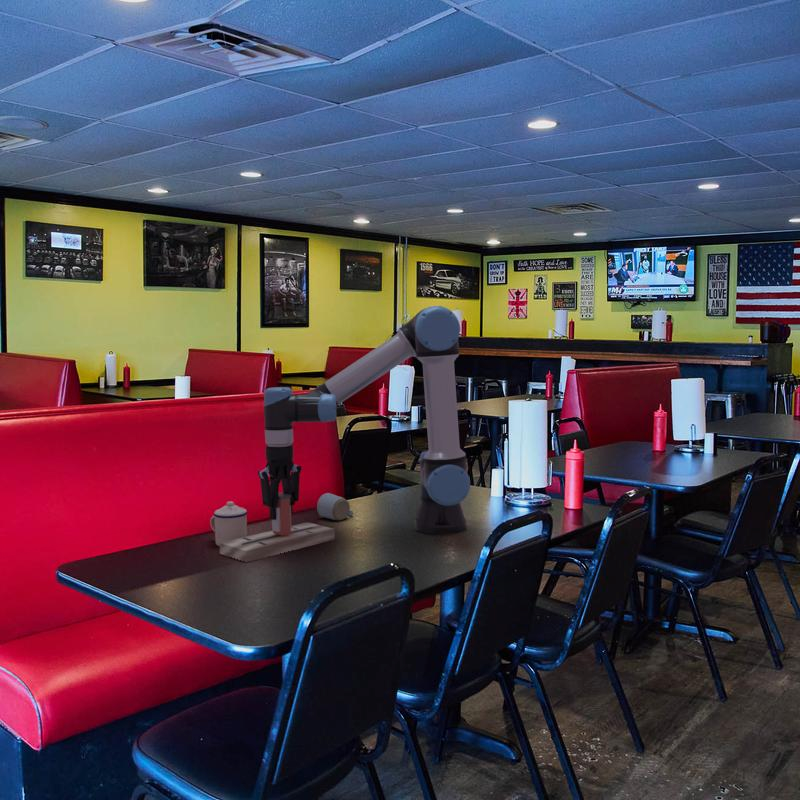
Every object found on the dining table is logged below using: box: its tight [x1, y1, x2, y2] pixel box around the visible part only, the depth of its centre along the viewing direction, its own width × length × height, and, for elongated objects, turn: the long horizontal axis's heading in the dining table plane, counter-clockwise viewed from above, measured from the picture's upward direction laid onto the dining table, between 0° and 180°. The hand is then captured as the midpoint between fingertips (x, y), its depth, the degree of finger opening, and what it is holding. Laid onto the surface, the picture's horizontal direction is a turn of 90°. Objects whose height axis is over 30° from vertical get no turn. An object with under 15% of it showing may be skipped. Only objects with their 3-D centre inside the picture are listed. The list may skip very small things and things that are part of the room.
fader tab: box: [273, 492, 292, 536], centre depth 224 cm, size 4×3×11 cm
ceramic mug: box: [316, 492, 354, 521], centre depth 256 cm, size 11×8×8 cm
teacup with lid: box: [209, 501, 248, 547], centre depth 228 cm, size 12×9×12 cm
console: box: [219, 521, 336, 563], centre depth 224 cm, size 12×30×3 cm, turn 136°
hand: (281, 529), depth 224 cm, fingers closed on fader tab, 3 cm apart
